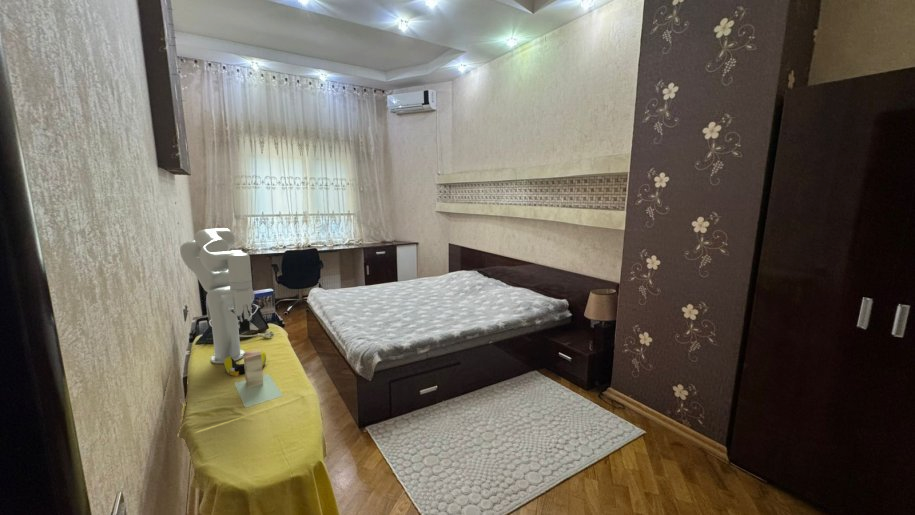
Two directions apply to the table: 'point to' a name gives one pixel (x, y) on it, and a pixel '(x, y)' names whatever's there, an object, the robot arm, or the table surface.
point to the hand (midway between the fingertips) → (245, 330)
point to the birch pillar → (253, 368)
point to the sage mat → (258, 391)
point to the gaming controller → (238, 365)
